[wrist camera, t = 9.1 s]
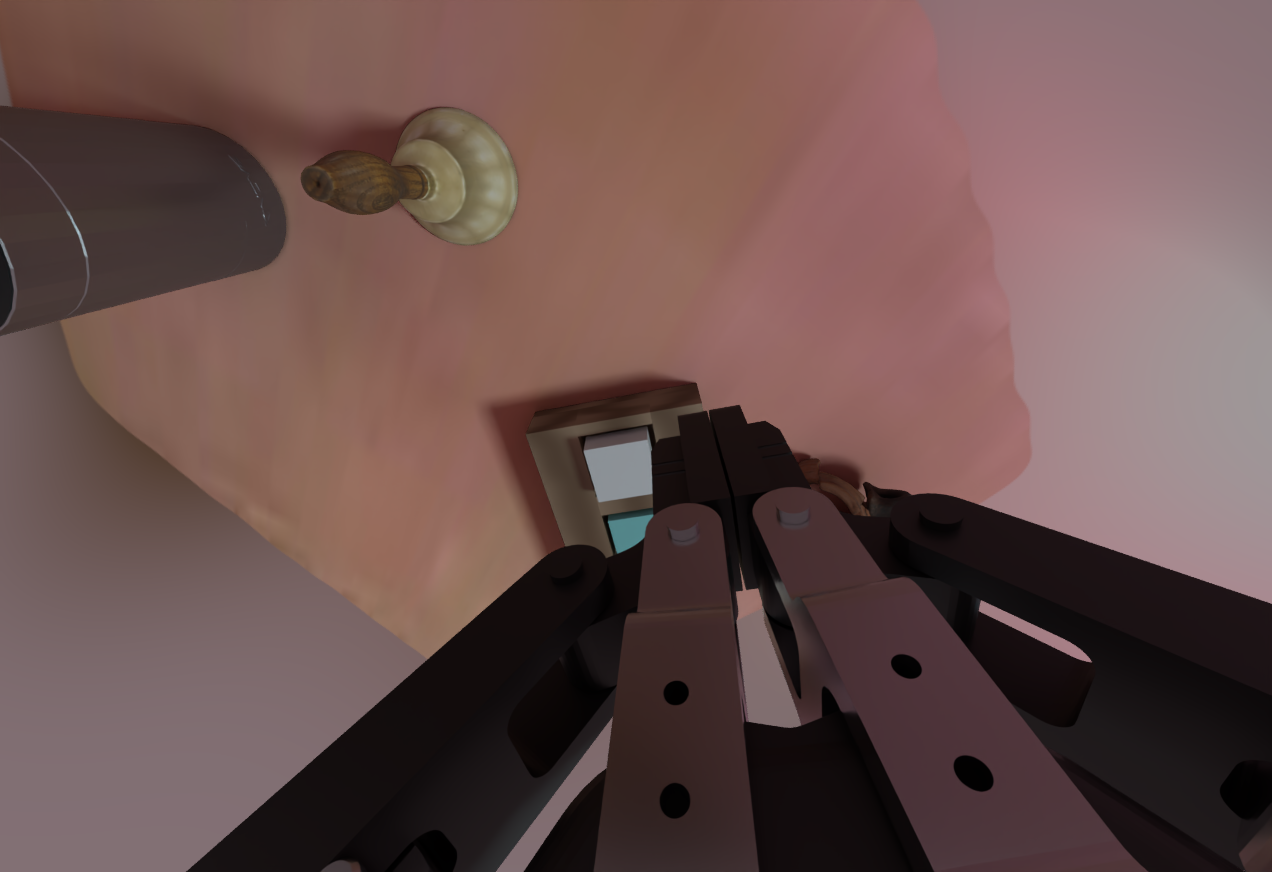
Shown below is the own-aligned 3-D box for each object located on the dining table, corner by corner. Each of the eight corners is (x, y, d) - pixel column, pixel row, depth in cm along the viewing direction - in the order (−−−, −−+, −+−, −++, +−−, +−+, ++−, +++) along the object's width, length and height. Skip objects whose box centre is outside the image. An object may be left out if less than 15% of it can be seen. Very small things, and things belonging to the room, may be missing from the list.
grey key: (600, 486, 41) (598, 502, 39) (586, 436, 39) (583, 450, 37) (658, 477, 41) (659, 492, 39) (647, 426, 38) (647, 439, 36)
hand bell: (404, 238, 35) (246, 283, 21) (387, 100, 31) (177, 42, 17) (519, 250, 35) (439, 303, 21) (517, 115, 31) (416, 70, 17)
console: (600, 604, 53) (597, 635, 49) (535, 412, 41) (525, 434, 38) (727, 587, 51) (733, 618, 48) (696, 382, 40) (701, 403, 37)
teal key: (621, 547, 46) (620, 563, 44) (609, 505, 44) (607, 521, 42) (672, 539, 45) (673, 555, 44) (663, 497, 43) (664, 512, 41)
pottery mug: (795, 549, 49) (782, 584, 42) (765, 462, 49) (747, 482, 42) (926, 526, 44) (937, 561, 37) (892, 428, 44) (897, 444, 36)
